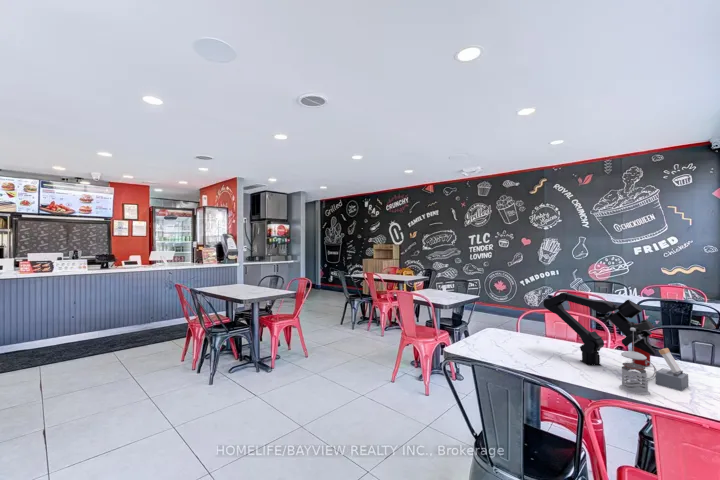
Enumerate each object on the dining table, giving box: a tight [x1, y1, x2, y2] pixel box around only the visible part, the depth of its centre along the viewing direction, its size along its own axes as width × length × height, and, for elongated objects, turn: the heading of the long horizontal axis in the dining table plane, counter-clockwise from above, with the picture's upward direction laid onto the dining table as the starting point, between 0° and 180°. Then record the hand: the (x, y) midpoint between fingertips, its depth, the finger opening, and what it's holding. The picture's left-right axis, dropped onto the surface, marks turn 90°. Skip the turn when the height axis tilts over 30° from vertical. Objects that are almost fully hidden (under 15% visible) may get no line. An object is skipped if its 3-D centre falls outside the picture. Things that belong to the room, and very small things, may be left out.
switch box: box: [654, 367, 690, 392], centre depth 134 cm, size 8×9×6 cm
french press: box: [618, 328, 657, 396], centre depth 129 cm, size 10×12×25 cm
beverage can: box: [631, 342, 651, 367], centre depth 159 cm, size 7×7×12 cm
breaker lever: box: [658, 347, 683, 374], centre depth 134 cm, size 2×5×10 cm, turn 123°
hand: (654, 354), depth 139 cm, fingers closed
